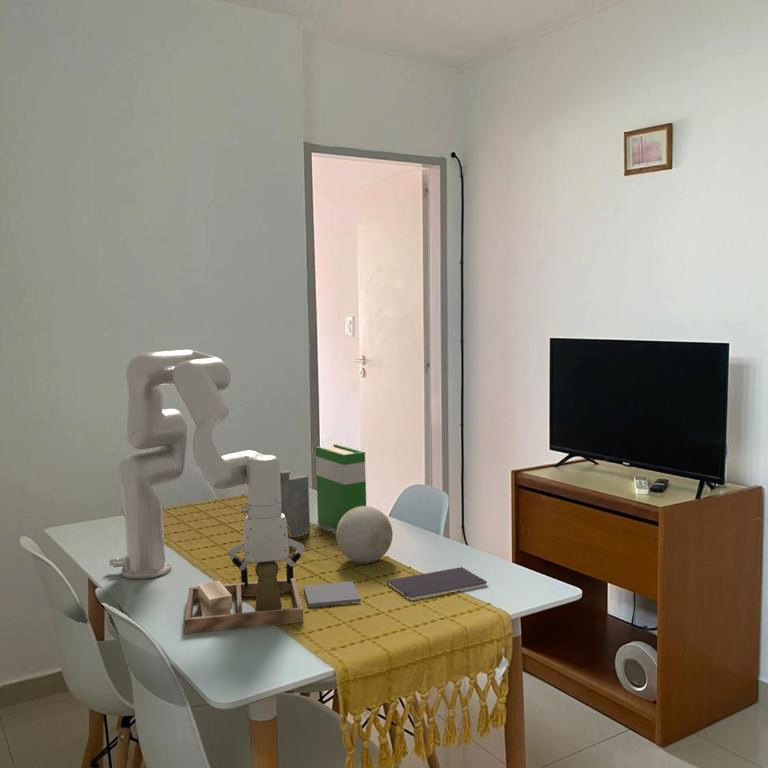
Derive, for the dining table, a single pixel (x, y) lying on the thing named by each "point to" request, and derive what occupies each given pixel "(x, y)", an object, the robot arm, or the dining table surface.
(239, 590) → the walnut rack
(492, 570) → the dining table surface
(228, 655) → the dining table surface
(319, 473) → the hardback book
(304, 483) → the hip flask
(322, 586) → the rubber mat
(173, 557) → the dining table surface
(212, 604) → the top offcut
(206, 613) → the block
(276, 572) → the cork
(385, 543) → the decorative sphere
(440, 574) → the notebook
